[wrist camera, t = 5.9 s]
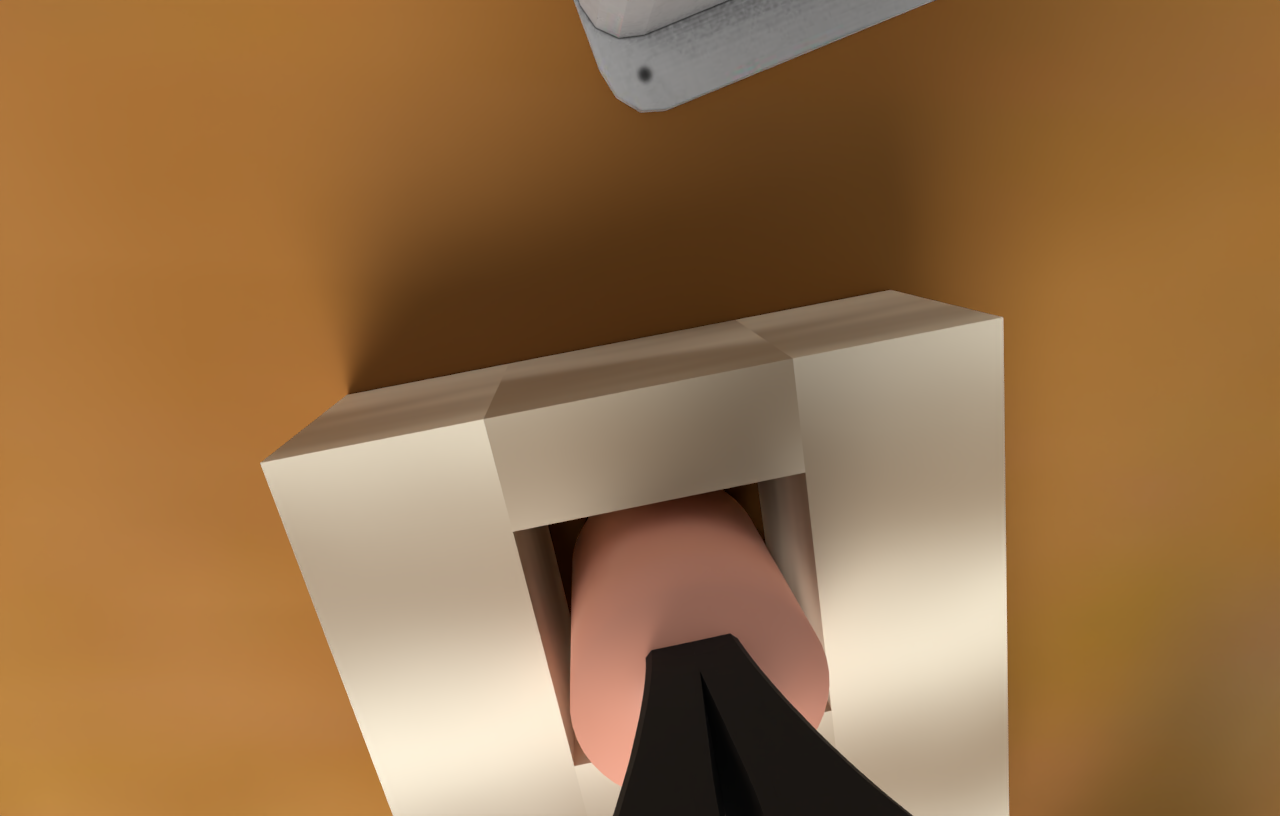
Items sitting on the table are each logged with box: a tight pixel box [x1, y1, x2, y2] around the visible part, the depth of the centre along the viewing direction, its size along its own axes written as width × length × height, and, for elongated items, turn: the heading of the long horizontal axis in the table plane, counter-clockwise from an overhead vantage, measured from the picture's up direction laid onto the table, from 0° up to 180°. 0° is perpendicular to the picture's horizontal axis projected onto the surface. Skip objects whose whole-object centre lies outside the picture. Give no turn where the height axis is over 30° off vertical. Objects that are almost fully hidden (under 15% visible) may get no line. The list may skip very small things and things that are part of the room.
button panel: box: [260, 290, 1009, 816], centre depth 15 cm, size 18×12×4 cm, turn 10°
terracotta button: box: [570, 490, 829, 787], centre depth 12 cm, size 4×4×4 cm
